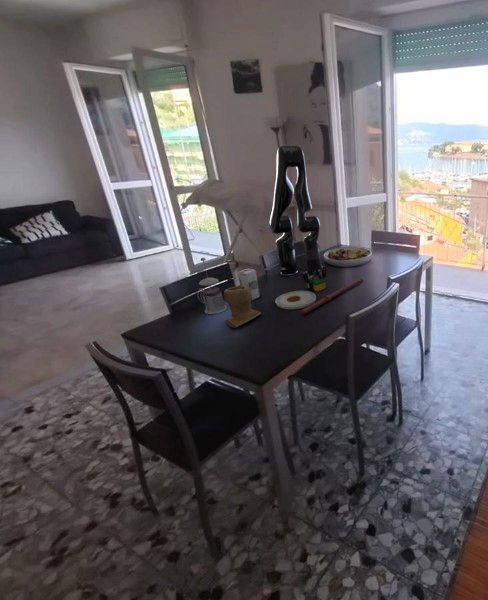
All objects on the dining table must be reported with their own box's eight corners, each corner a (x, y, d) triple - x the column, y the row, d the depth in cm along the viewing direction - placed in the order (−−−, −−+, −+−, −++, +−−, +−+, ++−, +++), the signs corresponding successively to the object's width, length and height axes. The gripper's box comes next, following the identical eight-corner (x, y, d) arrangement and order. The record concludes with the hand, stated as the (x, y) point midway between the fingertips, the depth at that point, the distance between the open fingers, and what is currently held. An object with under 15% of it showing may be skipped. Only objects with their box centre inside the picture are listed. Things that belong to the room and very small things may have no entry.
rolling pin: (306, 316, 156) (305, 310, 155) (300, 315, 158) (299, 308, 156) (364, 282, 192) (363, 277, 190) (359, 281, 193) (358, 276, 192)
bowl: (333, 253, 242) (331, 242, 239) (376, 254, 238) (375, 242, 235) (317, 267, 215) (316, 255, 212) (366, 269, 211) (365, 256, 208)
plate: (268, 302, 171) (267, 299, 170) (301, 289, 184) (300, 287, 183) (290, 313, 160) (290, 310, 159) (324, 299, 173) (324, 296, 172)
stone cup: (246, 310, 162) (239, 280, 156) (265, 315, 158) (259, 284, 151) (217, 325, 150) (209, 292, 144) (237, 331, 145) (229, 297, 139)
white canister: (252, 295, 179) (246, 267, 173) (260, 296, 177) (255, 269, 171) (243, 299, 174) (237, 271, 168) (251, 301, 172) (246, 273, 166)
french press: (232, 306, 167) (220, 255, 157) (213, 317, 157) (198, 263, 147) (215, 303, 170) (202, 253, 160) (196, 314, 160) (180, 261, 150)
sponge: (307, 287, 186) (306, 279, 184) (316, 284, 190) (315, 276, 188) (317, 291, 181) (316, 283, 179) (325, 288, 185) (325, 280, 183)
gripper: (319, 252, 186) (323, 282, 193) (296, 258, 176) (301, 290, 183) (328, 254, 181) (332, 285, 188) (305, 261, 171) (309, 293, 178)
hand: (316, 287), depth 186 cm, fingers closed on sponge, 5 cm apart
